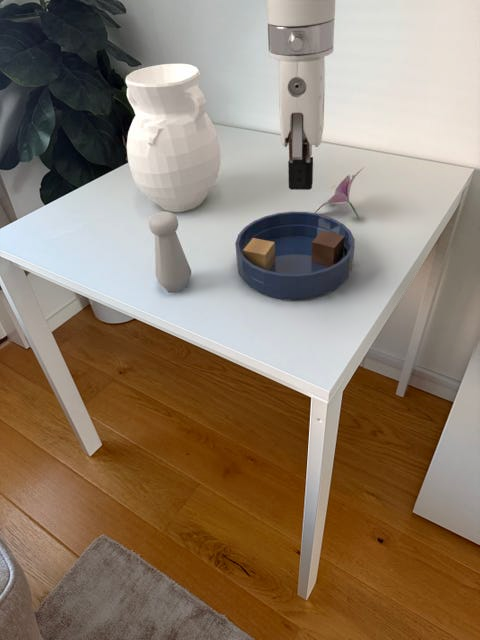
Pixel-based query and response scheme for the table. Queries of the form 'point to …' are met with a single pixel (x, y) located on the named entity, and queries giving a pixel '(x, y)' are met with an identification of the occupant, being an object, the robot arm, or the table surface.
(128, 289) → the table surface
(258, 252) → the maple block
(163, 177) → the white vase
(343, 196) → the lily
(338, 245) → the walnut block
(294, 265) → the bowl
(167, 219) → the salt shaker
